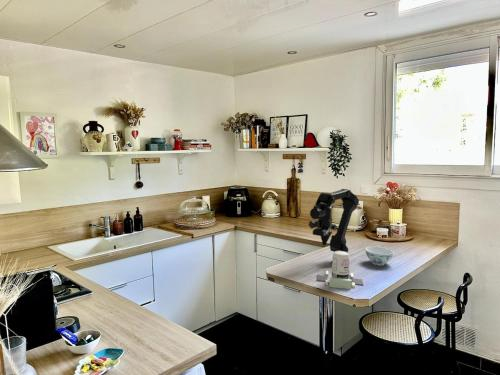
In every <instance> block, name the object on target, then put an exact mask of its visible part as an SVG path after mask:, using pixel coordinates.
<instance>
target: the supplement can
mask: <svg viewBox="0 0 500 375" xmlns="http://www.w3.org/2000/svg"><path fill="white" fill-rule="evenodd" d="M331 263H332V264H331V278H342V279H350V271H351V270H350V269H351V266H350V265H351V256H350V253H349V251H348V252H345V251H335V252H334V251H333V254H332V262H331Z"/></svg>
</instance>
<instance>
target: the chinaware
mask: <svg viewBox="0 0 500 375" xmlns="http://www.w3.org/2000/svg"><path fill="white" fill-rule="evenodd" d="M365 254H366V256H367V258H368V260H369V261H370V262H371V263H372V264H373V265H374V266H385V264H386V263H388V262H390V261H391V259H392V258H393V255H394V251H393V250H392V249H390V248H386V247H382V246H367V247H366V248H365Z"/></svg>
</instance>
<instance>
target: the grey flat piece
mask: <svg viewBox="0 0 500 375" xmlns="http://www.w3.org/2000/svg"><path fill="white" fill-rule="evenodd" d="M316 277H317V278H316V281H317V282H325V286H329V288H336V289H346V290H352V289H354V288H356V286H361V287H363V286H364V281H363V279H362V278H355V277H354V273H353V272H350V278H349V279H342V278H332V276H331V277H329V270H326V271H325V275H323V274H321V275H320V274H317V276H316ZM328 277H329V280H328Z"/></svg>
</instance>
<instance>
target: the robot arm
mask: <svg viewBox="0 0 500 375" xmlns="http://www.w3.org/2000/svg"><path fill="white" fill-rule="evenodd" d="M340 199H341V201H342V203H341V204H342V210H343V211H342V213H341V217H340V220H339V224H338V225H336V224H334V223H331V222H332V221H333V218H332V208H334V205H333V204H335V202H336V201H337V200H340ZM359 204H360V200H359V198H358V196H357V195H356V194H354V193H353V192H352V191H351V190H350V189H349V188H348V189H347V188H341V189H339V190H336V191H332V192H321V193H320V194H319V196H318V197H317V200H316V202H315V204H314V205H313V208H311V210H310V211H309V214H310V215H309V216H310V217H311V218H312V220H310V221H309V222H308V227H309V228H310V229H311V230H312V229H313V230H312V235H314V236H319V237H320V239H321V244H322V246H326V245H327V243H328V241H329V249H330V251H331V252H333V253H334V252H335V251H345V252H348V253H349V248H348V245H347V240H346V234H347V231H348V226H349V224H350V220H351V218H352V214H353V213H354V211H355V210H356V209H357V208H358V205H359ZM337 226H338V227H337ZM331 230H333V231H336V233H335V234H333V231H331ZM330 237H331V238H330ZM329 239H330V240H329ZM330 262H331V263H332V261H330Z"/></svg>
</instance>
